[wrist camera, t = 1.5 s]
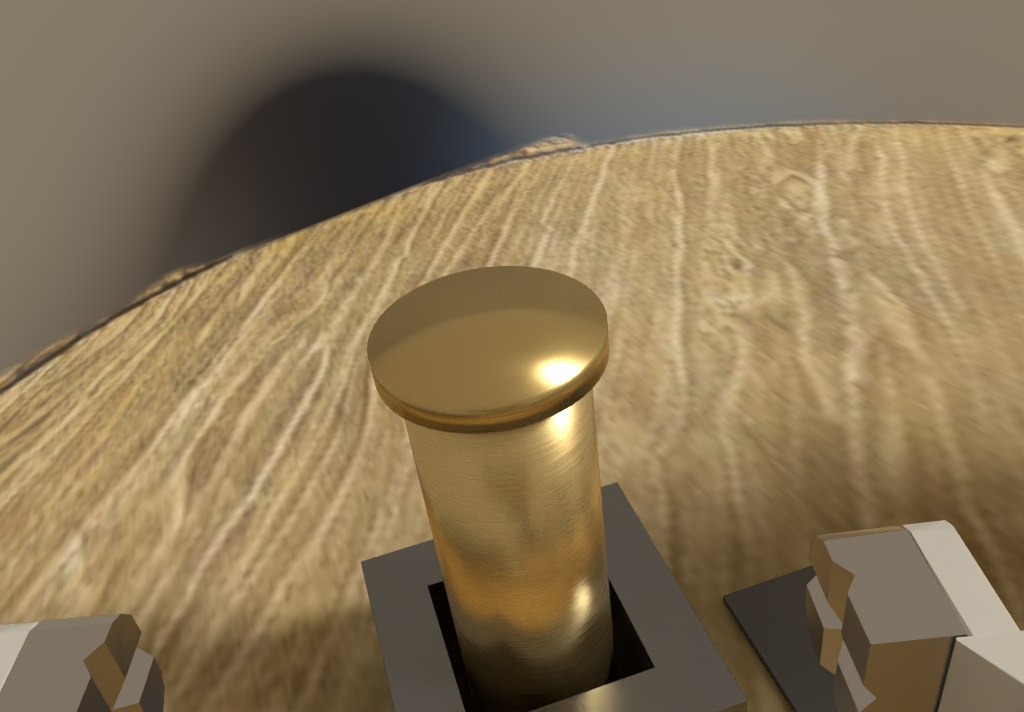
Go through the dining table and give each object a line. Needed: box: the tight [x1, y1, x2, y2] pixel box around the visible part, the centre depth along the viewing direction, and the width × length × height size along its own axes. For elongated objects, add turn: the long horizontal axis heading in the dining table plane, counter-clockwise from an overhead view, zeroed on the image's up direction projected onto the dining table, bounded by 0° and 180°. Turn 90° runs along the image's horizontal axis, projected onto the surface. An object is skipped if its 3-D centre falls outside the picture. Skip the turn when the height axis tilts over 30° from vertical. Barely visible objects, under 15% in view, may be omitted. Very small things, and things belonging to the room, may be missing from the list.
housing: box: [361, 483, 747, 712], centre depth 37 cm, size 12×12×6 cm
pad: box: [723, 566, 838, 712], centre depth 39 cm, size 10×10×1 cm
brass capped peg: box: [367, 266, 617, 712], centre depth 33 cm, size 7×7×20 cm
